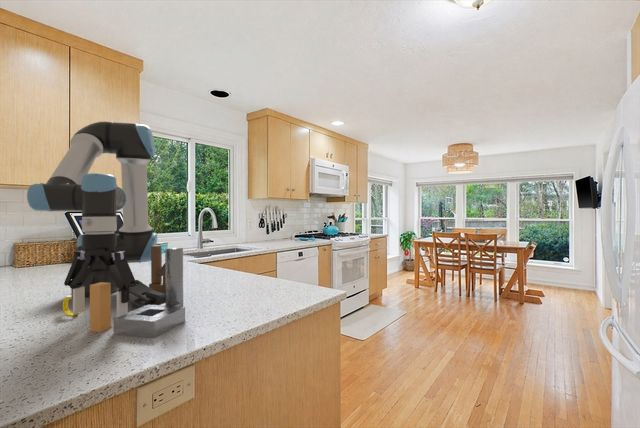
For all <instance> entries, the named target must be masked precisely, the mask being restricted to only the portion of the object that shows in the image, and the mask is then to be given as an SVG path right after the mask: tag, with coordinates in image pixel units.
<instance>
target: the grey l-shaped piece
mask: <svg viewBox="0 0 640 428" xmlns="http://www.w3.org/2000/svg"><path fill="white" fill-rule="evenodd" d="M164 261H165V262H164V264H165V296H166V303H164V304H161V305H146V306H143V307H141V308H138V309H136V310H135V309H133V310H131V311H128V314H126V315H123V316H121V317H117V316H116V317H114V318H113V319H112V320H113V322H112V323H113V325H112V326H113V335H119V336H120V335H121V336H132V337H142V338H152V339H153V338H154V339H155V338H157V337H158V336H160V335H163V334H164V333H166V332H168V331H170V330H172V329H174V328H175V327H177V326H179V325H181V324H183V323H184V322H186V306H184V247H167V248H165V249H164Z"/></svg>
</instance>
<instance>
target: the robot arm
mask: <svg viewBox="0 0 640 428" xmlns="http://www.w3.org/2000/svg"><path fill="white" fill-rule="evenodd" d="M69 144H70V147H69V148H68V149H67V152H66V153H65V155H64V156H63V157H62V159H61V161H60V162H59V163H58V165H57V167H56V168H55V170H54V171H53V172H52V174H51V176H50V177H49V178H48V179H47V181H46V183H43V182H40V183H33V184H31V185H29V187H28V188H27V190H26V191H27V193H26V201H27V203H28V206H29V207H30V208H31V209H32V210H34V211H40V212H42V211H43V212H45V211H46V212H49V213H50V212H51V213H52V212H81V231H82V232H83V233H82V234H80V235H78V237H77V240H76V241H77V242H76V246H75V247H76V248H75V249H76V251H74V253H73V260H72V262H71V266H70V268H69V270H68V272H67V275H66V277H65V280H64V282H63V284H64V286H65V287H66V286H67V287H69V288H70V290H71V293H70V295H72V299H71V300H72V313H73V314H76V313H78V314H79V313H82V312H85V311H86V309H85V308H86V307H85V305H86V303H85V302H86V301H85V300H86V299H85V297H90V285H92V284H96V283H100V282H104V283H111V294H112V293H115V292H116V317H121V316H123V315H126V314H128V312H129V310H128V308H129V307H128V303H129V302H130V295H131V294H130V292H129V291H130V289H131V288H133V287H136V286H137V283H136V281H135V280H136V278H135V277H134V274H133V272H132V269H131V267H130V265H129V264H130V263H131V264H132V263H133V264H135V263H139V264H140V263H147V262H151V246H153V245H158V244H157V243H158V234H157V233H156V232H154V231H153V230H154V229H153V227H152V226H151V225H150V224H149V203H148V201H149V200H148V171H147V170H148V169H147V168H148V167H147V165H148V164H149V163H150V162H151V161H152V160H151V159H152V157H154V156H155V155H156V146H155V139H154V136H153V132H152V130H151V128H150V127H149V126H148V125H146V124H140V123H132V122H131V123H129V122H115V121H98V122H93V123H90V124H89V125H86V126H84V127H82V128H81V129H79V130H78V131H76V132H75V133H74V134H73V136H72V137H71V139H70V143H69ZM102 154H113V155H115V159H116V160H117V161H118V162H119V163H120V168H121V170H120V171H121V187H119V186H118V184H117V178H116V176H115V175H113V174H108V173H98V172H97V173H94V172H93V173H92V172H91V173H89V172H90V170H91V168H92V166H93V164H94V162H95V161H96V158H99V157H101V156H102ZM119 210H122V220H123V221H122V223H123V224H122V226H121V227H120V228H118V227H117V225H118V223H117V211H119ZM117 228H118V229H117ZM117 230H118V233H115V232H116V231H117ZM115 284H116V285H117V287H118V288H117V287H115ZM123 285H124V286H123Z"/></svg>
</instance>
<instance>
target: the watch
mask: <svg viewBox="0 0 640 428" xmlns="http://www.w3.org/2000/svg"><path fill="white" fill-rule="evenodd" d="M70 300H72V294H68V295H66V296H65V298H64V299H63V302H62V310H63V313H64V314H65V316H70V317H74V316H77V315H79V313H76V314H73V312H72V311H70V308H69V301H70Z"/></svg>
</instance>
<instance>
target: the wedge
mask: <svg viewBox="0 0 640 428" xmlns="http://www.w3.org/2000/svg"><path fill="white" fill-rule="evenodd" d="M111 295H112V293H111V283H104V282H100V283H96V284H92V285H90V296H89V331H90V332H95V333H102V332H104V331H107V330H109V329H111V328H112V296H111Z"/></svg>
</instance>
